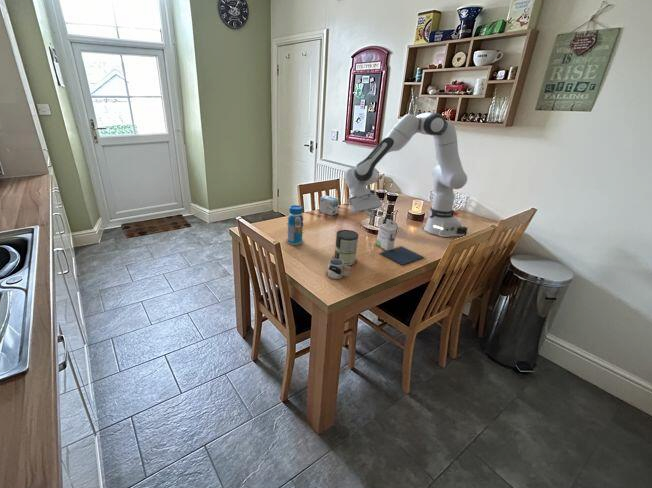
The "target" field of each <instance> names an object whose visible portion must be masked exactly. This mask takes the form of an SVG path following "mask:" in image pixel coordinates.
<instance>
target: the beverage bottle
mask: <svg viewBox="0 0 652 488" xmlns="http://www.w3.org/2000/svg"><path fill="white" fill-rule="evenodd" d="M288 209H289V215H288V216H287V237H286V238H287V240H286V242H287V244H289V245H293V246H297V245H301V244H302V243H303V231H304V230H303V229H304V222H303V221H304V216H303V207H302V206H301V205H295V204H293V205H290V206H289V208H288Z"/></svg>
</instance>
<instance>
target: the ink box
mask: <svg viewBox="0 0 652 488" xmlns="http://www.w3.org/2000/svg"><path fill="white" fill-rule="evenodd" d="M397 230H398V223H397V222H396V221H394V220H391V219H389V218H386V219H385V223H380V224H378V231H377V238H376V244H375V245H377V246H378V247H380V248H382V249H383V250H384V251H385V252H386V251H389V250H392V249H395V248H394V247H395V241H396V236H397Z"/></svg>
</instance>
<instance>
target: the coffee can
mask: <svg viewBox="0 0 652 488" xmlns="http://www.w3.org/2000/svg"><path fill="white" fill-rule="evenodd" d="M335 233H336V237H335V249H334V258H333V259H341V260H343V261H344V264H345V265H347V266H351V265H354V264H355V263H356V258H357V248H358V242H359V241H358V240H359V233H358V232H356V231H355V230H352V229H340V230H337V231H336V232H335Z"/></svg>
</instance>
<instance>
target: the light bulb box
mask: <svg viewBox="0 0 652 488" xmlns="http://www.w3.org/2000/svg"><path fill="white" fill-rule="evenodd" d="M319 200H320V201H319V213H322V214H324V215H328V216H330V217H331V216H336V215H337V214H338V212H339V201H340V199H339V198H338V197H335V196H334V197H333V196H330V195H323V196H320V199H319Z"/></svg>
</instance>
